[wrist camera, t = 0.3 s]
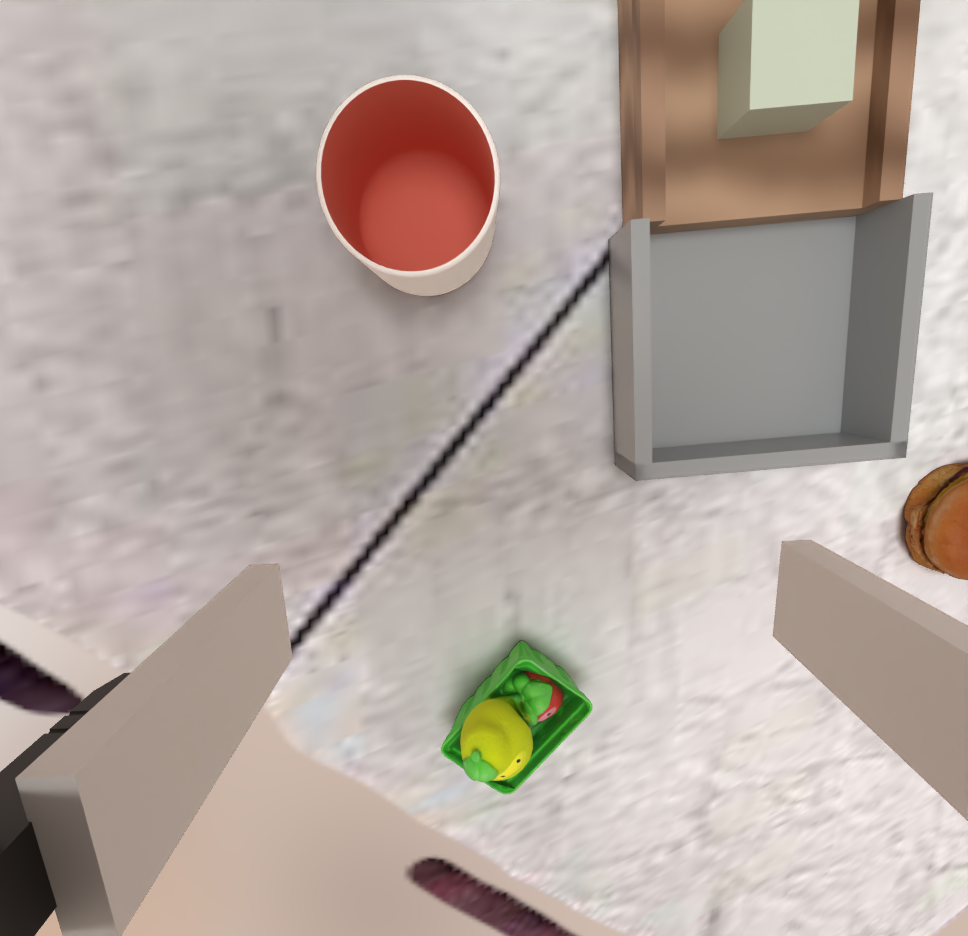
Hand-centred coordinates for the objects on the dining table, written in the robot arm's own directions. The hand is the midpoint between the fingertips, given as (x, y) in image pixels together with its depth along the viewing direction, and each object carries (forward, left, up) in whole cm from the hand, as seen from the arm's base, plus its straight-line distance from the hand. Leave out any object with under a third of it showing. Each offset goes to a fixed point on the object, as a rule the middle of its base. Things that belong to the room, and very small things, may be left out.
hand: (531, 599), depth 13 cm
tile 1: (-22, +19, -25) cm, 38 cm away
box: (-5, +19, -28) cm, 34 cm away
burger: (+10, +38, -28) cm, 48 cm away
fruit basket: (+23, -1, -28) cm, 36 cm away
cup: (-16, -4, -28) cm, 32 cm away
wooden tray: (-25, +19, -28) cm, 42 cm away
